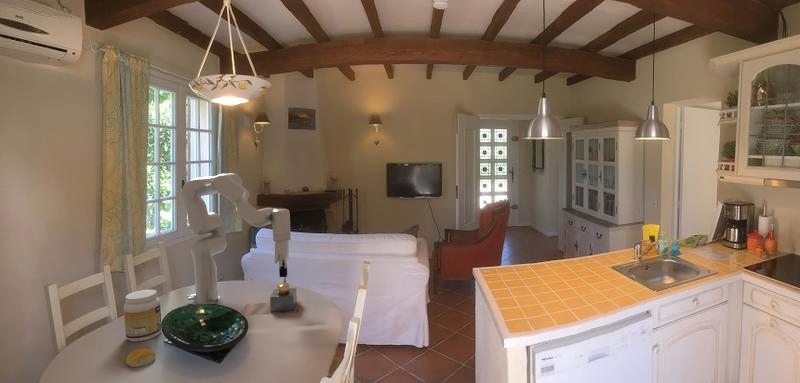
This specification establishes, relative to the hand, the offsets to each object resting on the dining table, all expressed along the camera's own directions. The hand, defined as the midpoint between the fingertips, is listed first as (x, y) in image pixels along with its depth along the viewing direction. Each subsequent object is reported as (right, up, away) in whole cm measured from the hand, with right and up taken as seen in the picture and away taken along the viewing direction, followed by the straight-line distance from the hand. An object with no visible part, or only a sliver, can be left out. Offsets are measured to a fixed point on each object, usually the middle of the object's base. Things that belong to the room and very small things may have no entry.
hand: (283, 276), depth 178 cm
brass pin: (0, -13, +1) cm, 14 cm away
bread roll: (-37, -21, -41) cm, 59 cm away
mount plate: (-6, -16, +1) cm, 17 cm away
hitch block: (0, -14, +2) cm, 15 cm away
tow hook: (-2, -15, +16) cm, 22 cm away
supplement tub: (-49, -19, -22) cm, 56 cm away
